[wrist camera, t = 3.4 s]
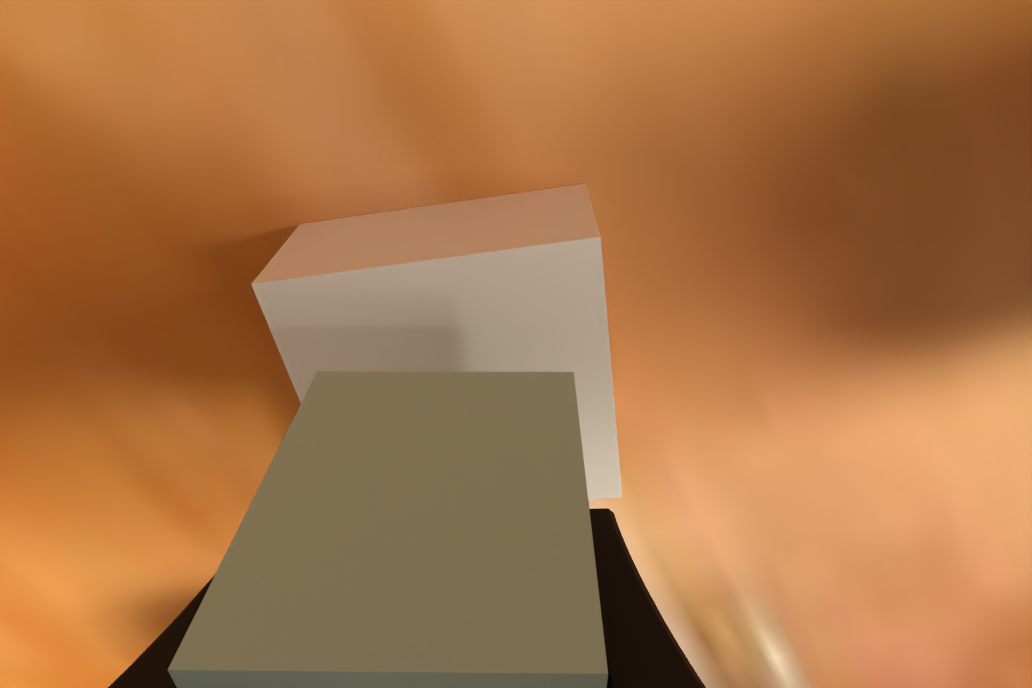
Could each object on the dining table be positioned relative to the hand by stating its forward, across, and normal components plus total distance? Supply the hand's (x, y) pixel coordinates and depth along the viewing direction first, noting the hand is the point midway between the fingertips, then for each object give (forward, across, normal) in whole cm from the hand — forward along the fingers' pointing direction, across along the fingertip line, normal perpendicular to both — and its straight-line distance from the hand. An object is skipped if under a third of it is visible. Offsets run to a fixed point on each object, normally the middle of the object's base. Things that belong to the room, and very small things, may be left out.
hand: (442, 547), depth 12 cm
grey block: (+9, 0, 0) cm, 9 cm away
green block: (+2, 0, 0) cm, 2 cm away
